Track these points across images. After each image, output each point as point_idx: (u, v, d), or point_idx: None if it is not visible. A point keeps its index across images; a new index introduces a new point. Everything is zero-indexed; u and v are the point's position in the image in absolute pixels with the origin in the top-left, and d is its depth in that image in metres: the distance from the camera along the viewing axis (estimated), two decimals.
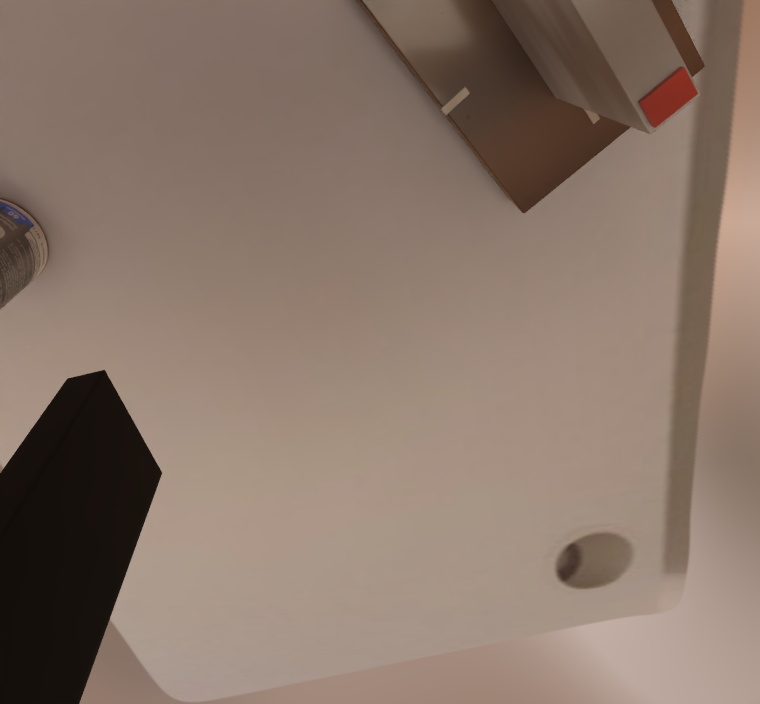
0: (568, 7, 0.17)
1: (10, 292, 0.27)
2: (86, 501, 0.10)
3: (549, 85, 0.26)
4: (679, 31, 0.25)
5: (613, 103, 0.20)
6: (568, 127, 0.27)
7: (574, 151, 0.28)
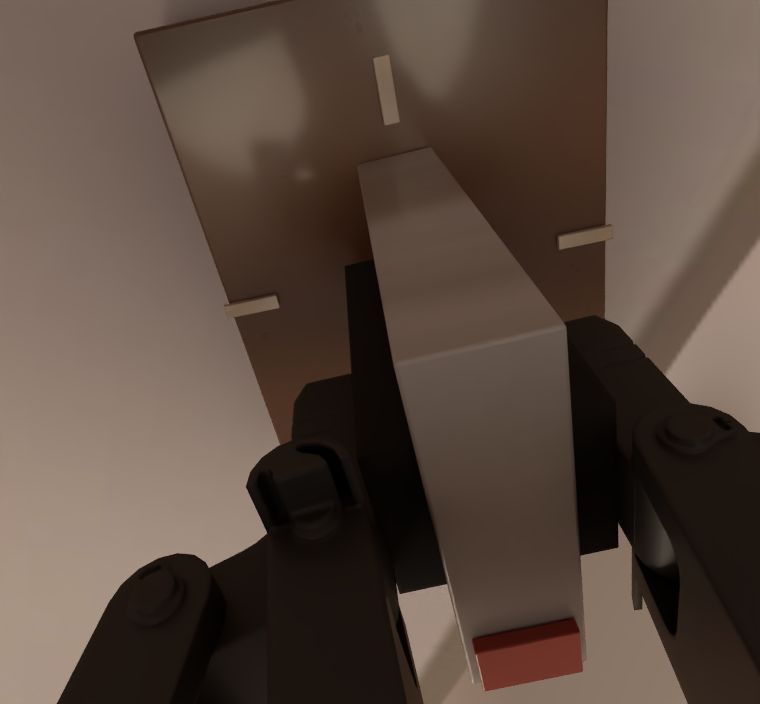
0: None
1: None
2: None
3: None
4: None
5: None
6: None
7: None
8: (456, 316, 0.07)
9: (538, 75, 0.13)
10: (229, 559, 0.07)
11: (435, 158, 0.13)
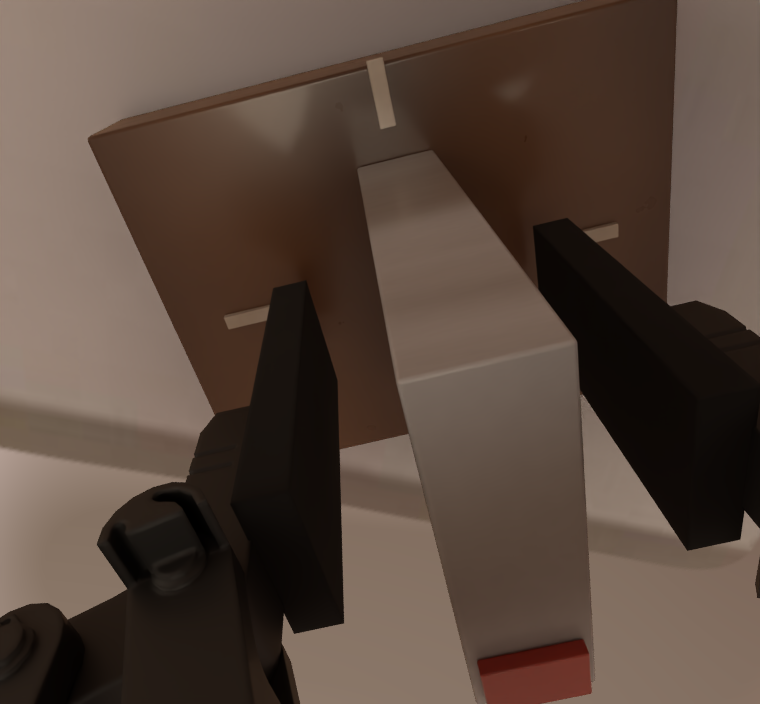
0: None
1: None
2: (318, 380, 0.11)
3: None
4: None
5: None
6: (234, 276, 0.15)
7: (186, 274, 0.14)
8: (460, 329, 0.06)
9: None
10: (98, 606, 0.07)
11: (437, 161, 0.12)
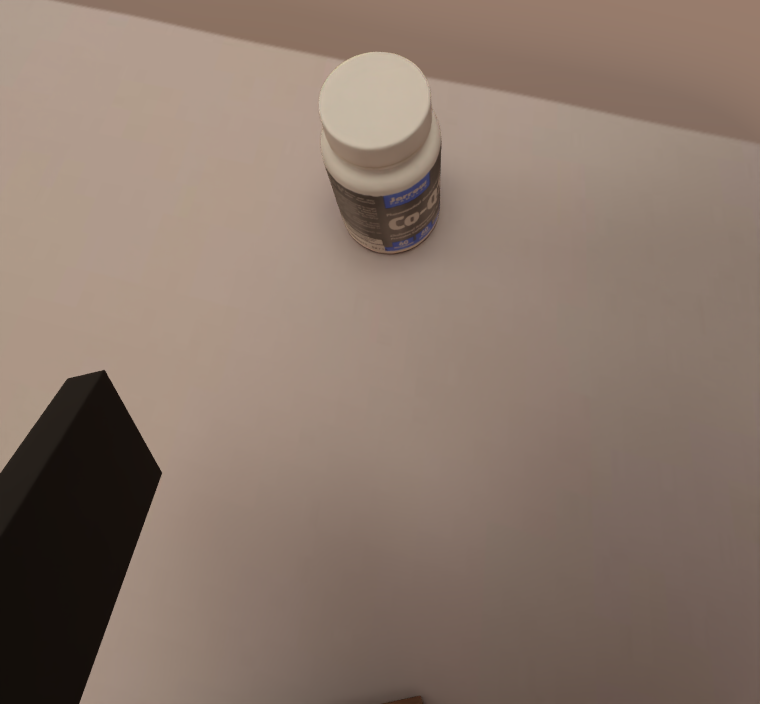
0: None
1: (336, 193, 0.24)
2: (86, 501, 0.10)
3: None
4: None
5: None
6: None
7: None
8: None
9: None
10: None
11: None
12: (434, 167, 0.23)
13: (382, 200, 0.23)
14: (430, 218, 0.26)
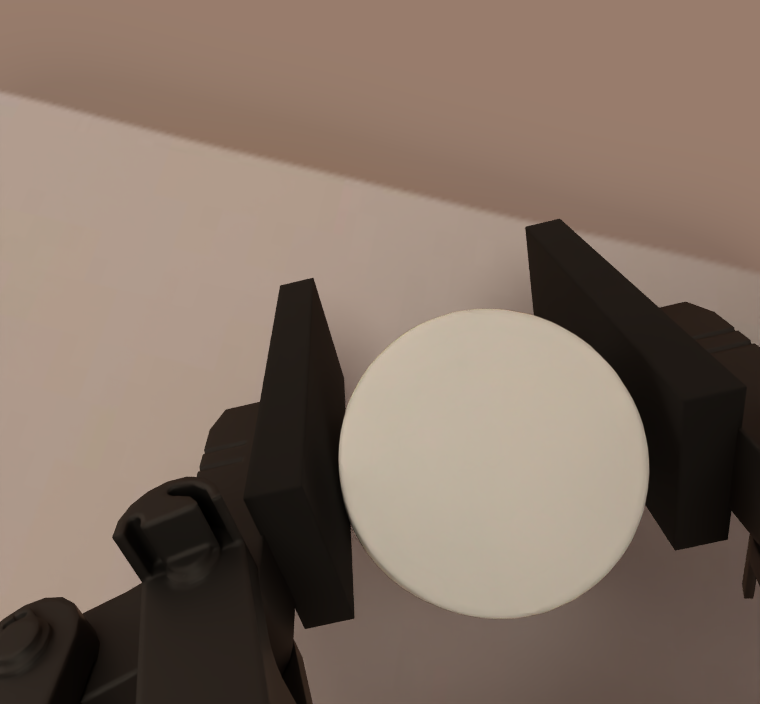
0: None
1: None
2: (326, 377, 0.11)
3: None
4: None
5: None
6: None
7: None
8: None
9: None
10: (112, 601, 0.07)
11: None
12: None
13: None
14: None
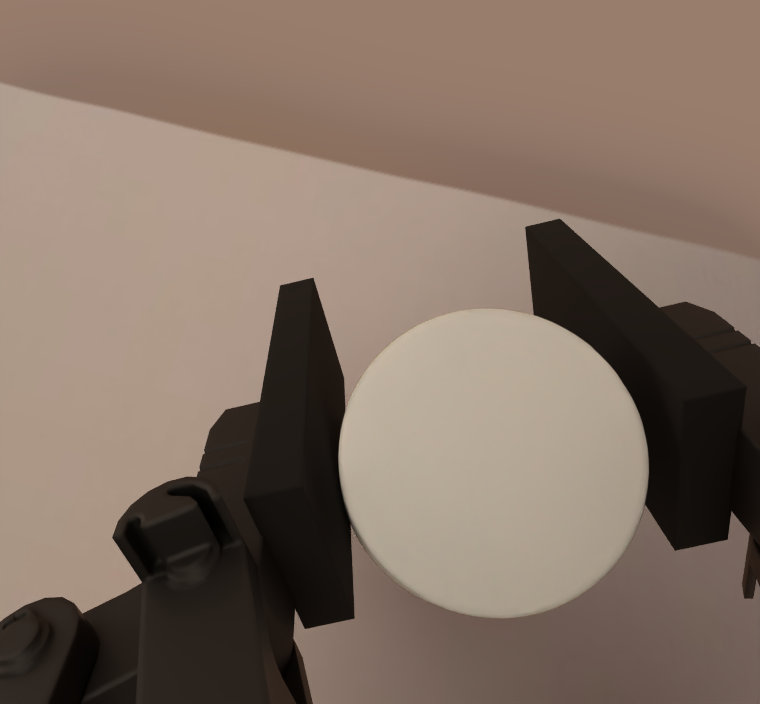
0: None
1: None
2: (326, 377, 0.11)
3: None
4: None
5: None
6: None
7: None
8: None
9: None
10: (112, 600, 0.07)
11: None
12: None
13: None
14: None
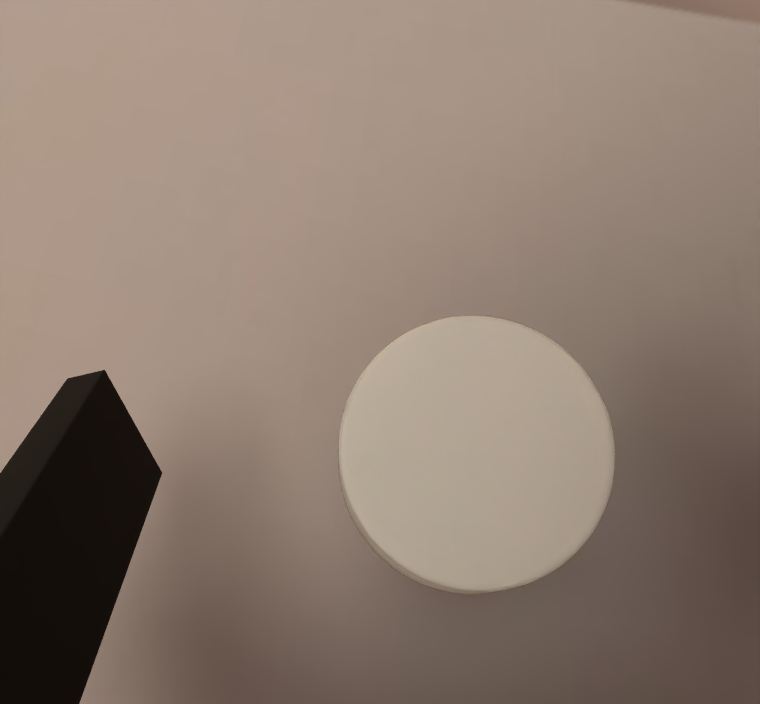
0: None
1: None
2: (86, 501, 0.10)
3: None
4: None
5: None
6: None
7: None
8: None
9: None
10: None
11: None
12: None
13: None
14: None
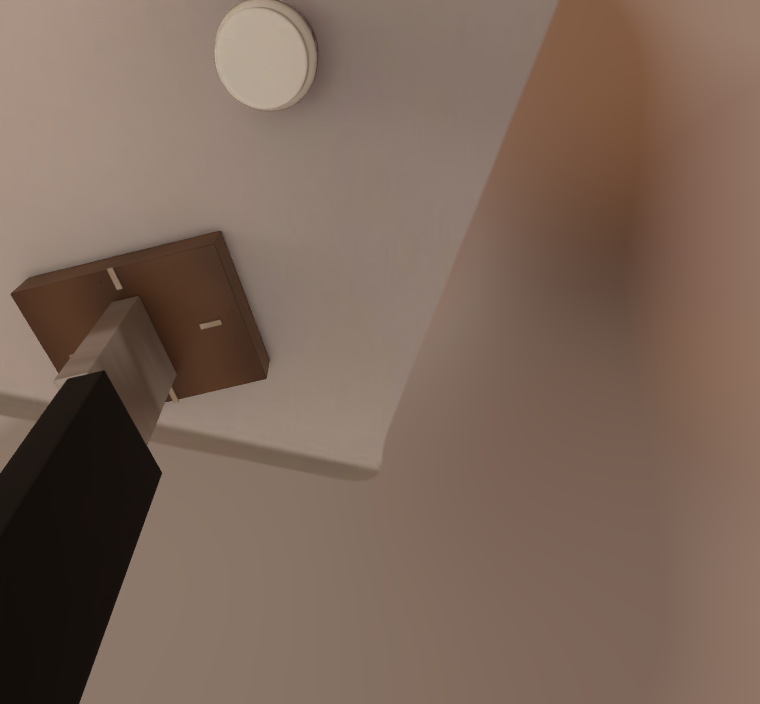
0: None
1: None
2: (86, 501, 0.10)
3: None
4: None
5: None
6: (71, 340, 0.37)
7: (52, 339, 0.37)
8: (73, 369, 0.29)
9: (224, 368, 0.39)
10: None
11: (131, 304, 0.35)
12: (312, 82, 0.28)
13: None
14: None
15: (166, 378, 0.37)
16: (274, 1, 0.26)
